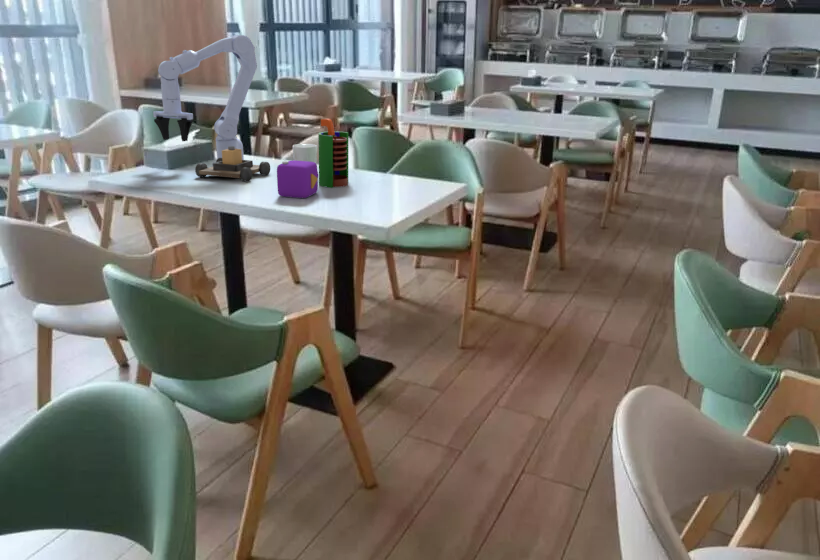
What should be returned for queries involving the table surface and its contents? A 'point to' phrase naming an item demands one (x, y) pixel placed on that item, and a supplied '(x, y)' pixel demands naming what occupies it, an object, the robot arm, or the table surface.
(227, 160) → the tan block with knob
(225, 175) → the chassis
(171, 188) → the table surface
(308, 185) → the purple arrow cube
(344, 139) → the motor
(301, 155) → the white cup
